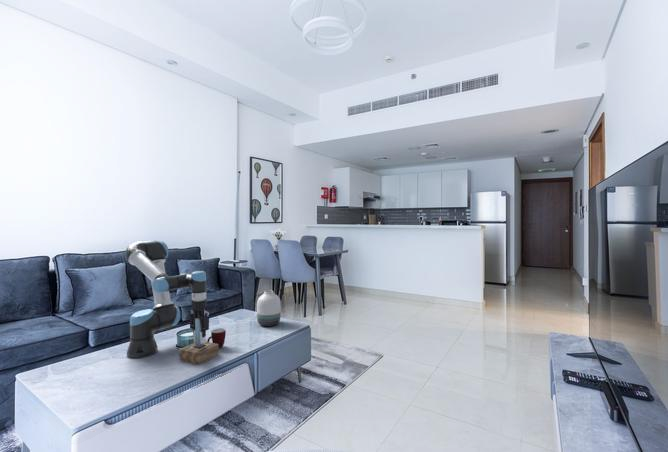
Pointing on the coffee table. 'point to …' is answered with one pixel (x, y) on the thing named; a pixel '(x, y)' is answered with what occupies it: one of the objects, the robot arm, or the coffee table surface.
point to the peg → (197, 333)
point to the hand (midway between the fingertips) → (199, 342)
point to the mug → (218, 336)
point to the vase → (268, 309)
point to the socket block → (199, 353)
